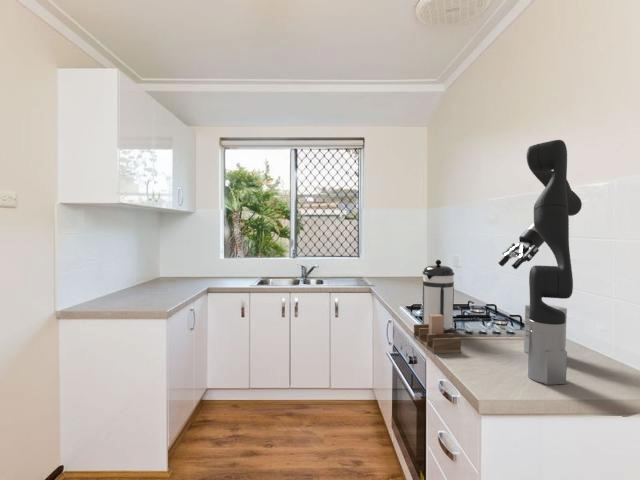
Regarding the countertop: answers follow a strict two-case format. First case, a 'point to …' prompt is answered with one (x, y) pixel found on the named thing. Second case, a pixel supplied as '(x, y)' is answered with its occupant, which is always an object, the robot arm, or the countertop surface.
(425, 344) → the drying rack
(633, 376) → the countertop surface
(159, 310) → the countertop surface
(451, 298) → the coffee press
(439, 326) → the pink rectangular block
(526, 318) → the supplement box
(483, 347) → the countertop surface
